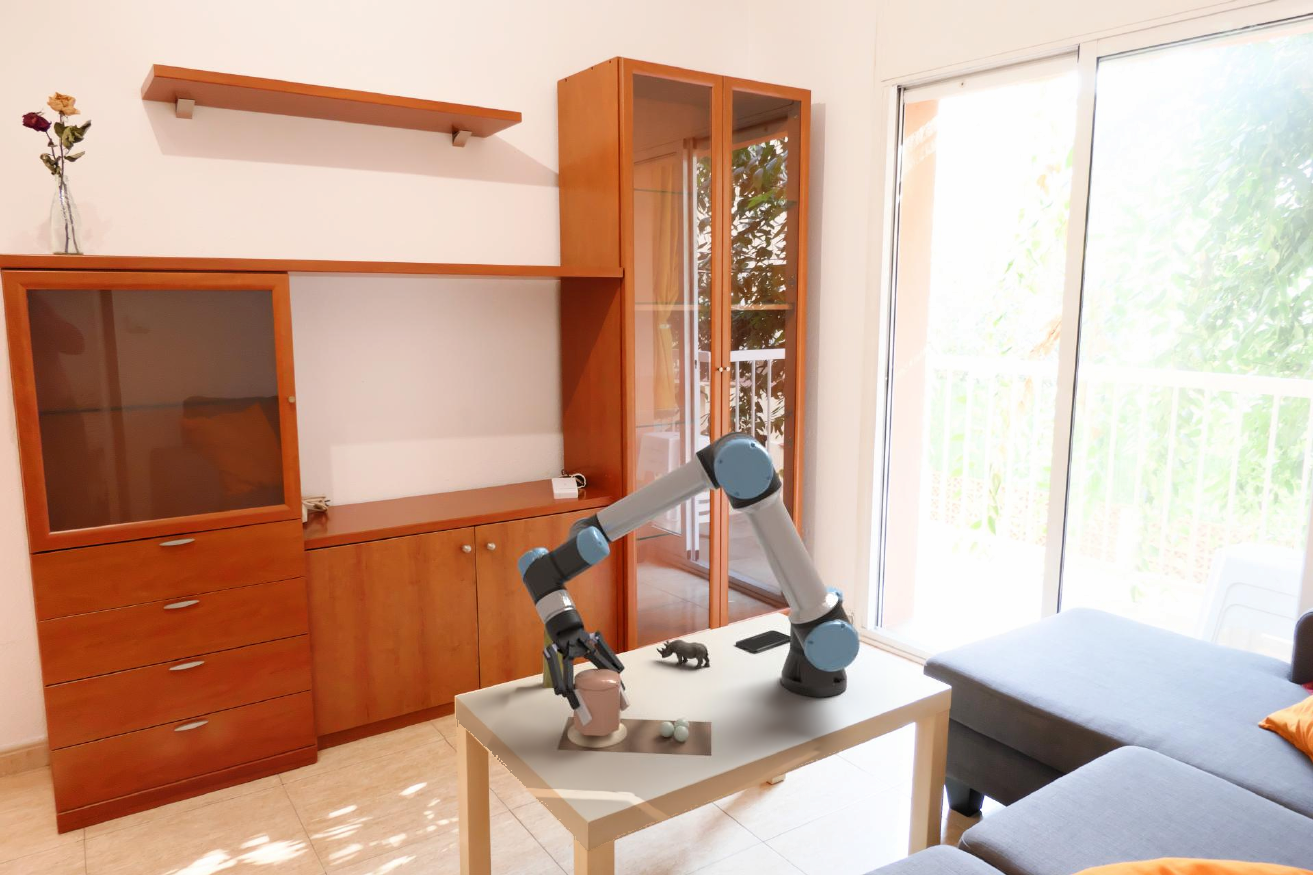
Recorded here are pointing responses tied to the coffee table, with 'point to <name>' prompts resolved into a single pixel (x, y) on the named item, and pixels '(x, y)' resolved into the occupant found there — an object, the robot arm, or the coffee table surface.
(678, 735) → the marble
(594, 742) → the coaster
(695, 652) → the rhino figurine
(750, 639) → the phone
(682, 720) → the marble
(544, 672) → the vase
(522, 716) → the coffee table surface
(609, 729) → the domed lid canister
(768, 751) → the coffee table surface
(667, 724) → the marble
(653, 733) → the board
